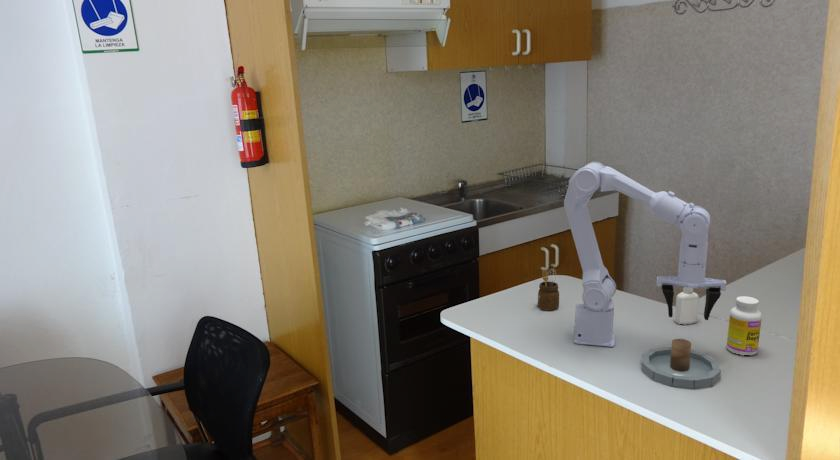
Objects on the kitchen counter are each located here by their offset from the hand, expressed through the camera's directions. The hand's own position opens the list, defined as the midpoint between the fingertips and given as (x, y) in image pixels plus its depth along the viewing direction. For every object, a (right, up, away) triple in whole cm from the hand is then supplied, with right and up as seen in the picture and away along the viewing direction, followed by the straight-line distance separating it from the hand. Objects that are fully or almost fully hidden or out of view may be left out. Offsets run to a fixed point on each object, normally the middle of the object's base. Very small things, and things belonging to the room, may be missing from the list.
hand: (688, 317), depth 148 cm
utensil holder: (-26, -2, +33) cm, 42 cm away
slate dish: (-4, -11, -5) cm, 13 cm away
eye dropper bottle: (+8, -4, +20) cm, 22 cm away
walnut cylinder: (-4, -10, -6) cm, 13 cm away
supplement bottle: (+14, -9, +3) cm, 17 cm away
